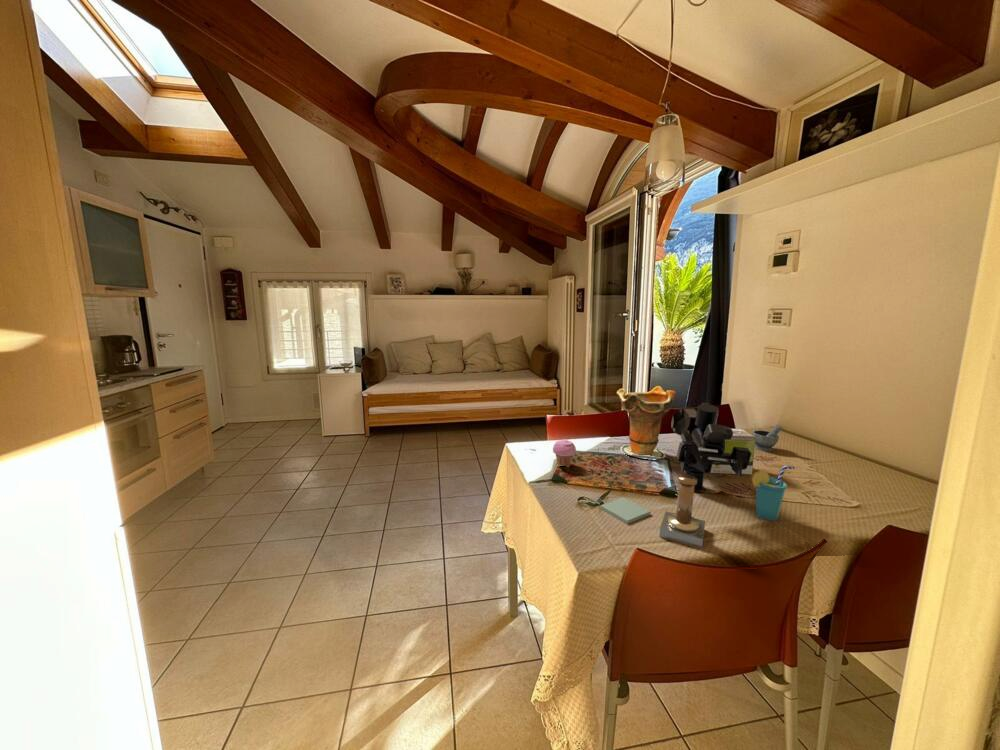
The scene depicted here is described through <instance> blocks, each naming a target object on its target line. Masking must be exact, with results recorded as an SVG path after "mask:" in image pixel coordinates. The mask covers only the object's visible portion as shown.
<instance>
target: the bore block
mask: <svg viewBox="0 0 1000 750" xmlns="http://www.w3.org/2000/svg"><path fill="white" fill-rule="evenodd" d="M670 514H674V513H673V512H670V511H665V512H664V515H663V518H662V521H661V525H660V527H659V534H658V535H659V537H658V538H661V539H664V540H665V539H666V540H668V541H673V542H677V543H680V544H684V545H687V546H692V547H695V548H699V549H703V542H704V536H705V527H706V520H703V519H699V518H695V519H696V520H698V522H699V529H698V530H697V531H695V532H684V531H680V530H677V529H675V528H673V527H672V526H670V525H669V524H668V516H669V515H670Z"/></svg>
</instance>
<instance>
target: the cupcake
mask: <svg viewBox="0 0 1000 750" xmlns="http://www.w3.org/2000/svg"><path fill="white" fill-rule="evenodd" d="M552 452H553V453H554V454H555V457H556V463H557V466H558V465H562V466H570V467H571V464H572V461H573V459H574V456H575V455H576V452H577V449H576V446H575V444H574V442H572V441H570V440H568V439H561V440H557V441H555V443H554V444H553V448H552Z"/></svg>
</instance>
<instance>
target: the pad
mask: <svg viewBox="0 0 1000 750" xmlns="http://www.w3.org/2000/svg"><path fill="white" fill-rule="evenodd" d="M599 508H600V510H601V511H603V512H605V513H607V514H608V515H610V516H612V517H614V518H616V519H618V520H619V521H621V522H623V523H624V524H626V525H628V524H631V523H633V522H635V521H638V520H641V519H643V518H645V517H648V516H650V515H651V513H652V511H651V510H649V509H647V508H645V507H643V506H641V505H640V504H638V503H635V501H631V500H630V499H628V498H625V497H619V498H617V499H614V500H611V501H610V502H605V503H603V504H600V507H599Z"/></svg>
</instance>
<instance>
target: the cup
mask: <svg viewBox="0 0 1000 750" xmlns="http://www.w3.org/2000/svg"><path fill="white" fill-rule="evenodd" d="M786 469H789V470H794V469H795V466H793V465H784V466H783V467H781V469H780V471H779V474H778V478H775V477H772V476H770V475H769V473H768V472H766V471H764V470H762V469H760V470H757V471H754V472H753V473H752V475H751V477H750V482H751V484H752V486H754V487H756V489H755V490H756V491H755V492H756V495H755V497H756V498H755V500H756V501H755V515H756V516H758V517H759V518H761V519H764V520H766V521H774V522H775V521H777V520H778V518H779V515H780V510H781V507H782V503H783V499H784V496H785V492H786V489H787V488H788V484H787V483H786V482H784V481H783V480H782V478H783V476H784V474H785V472H786Z"/></svg>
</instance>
